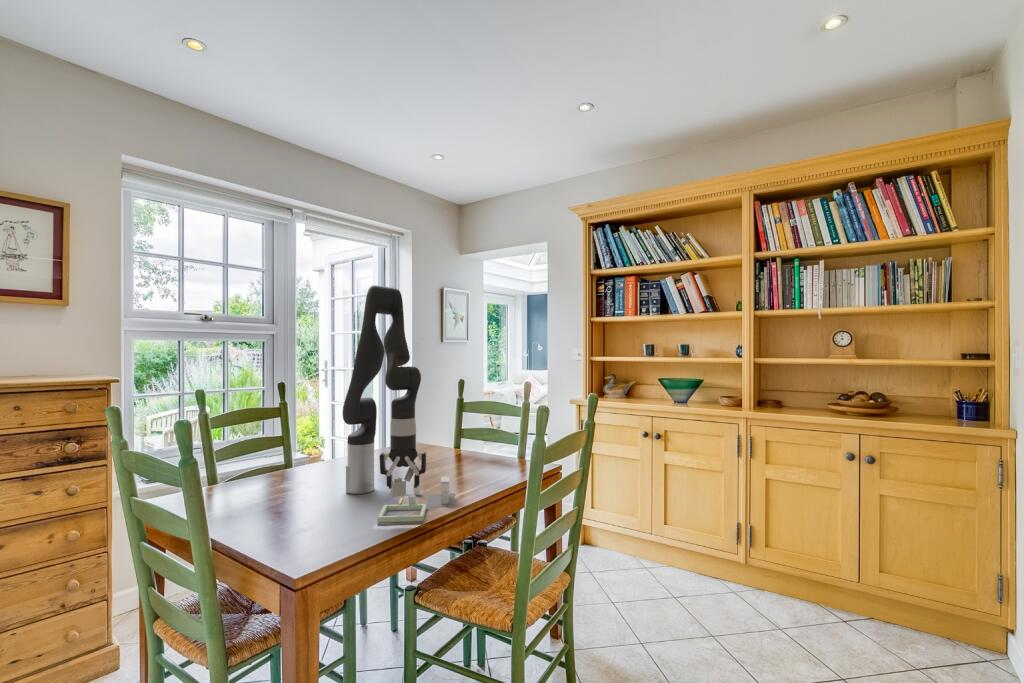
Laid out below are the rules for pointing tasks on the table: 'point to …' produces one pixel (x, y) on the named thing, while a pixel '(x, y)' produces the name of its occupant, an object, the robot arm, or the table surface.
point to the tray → (401, 518)
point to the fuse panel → (432, 499)
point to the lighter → (400, 484)
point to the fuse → (445, 485)
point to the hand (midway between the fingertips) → (403, 487)
